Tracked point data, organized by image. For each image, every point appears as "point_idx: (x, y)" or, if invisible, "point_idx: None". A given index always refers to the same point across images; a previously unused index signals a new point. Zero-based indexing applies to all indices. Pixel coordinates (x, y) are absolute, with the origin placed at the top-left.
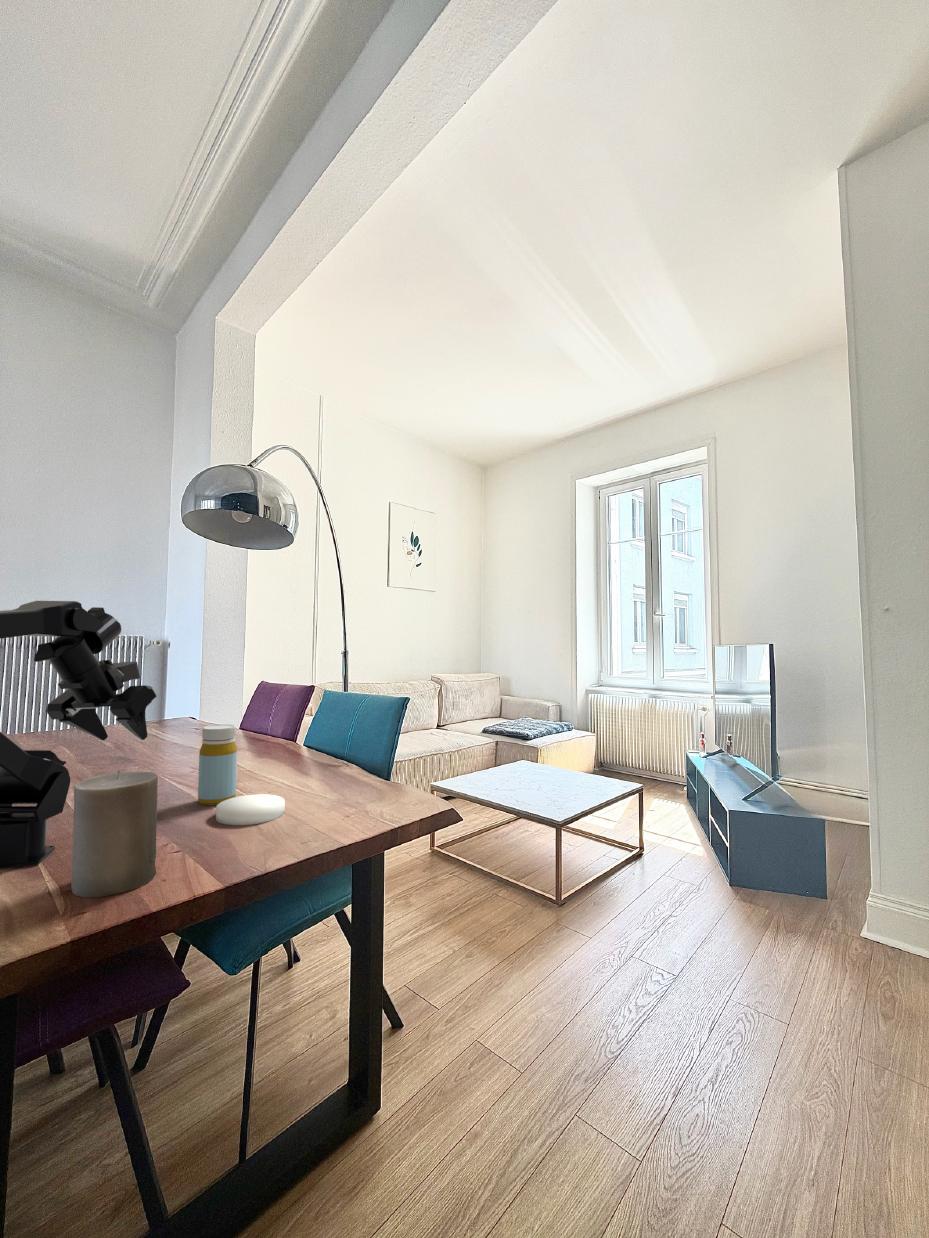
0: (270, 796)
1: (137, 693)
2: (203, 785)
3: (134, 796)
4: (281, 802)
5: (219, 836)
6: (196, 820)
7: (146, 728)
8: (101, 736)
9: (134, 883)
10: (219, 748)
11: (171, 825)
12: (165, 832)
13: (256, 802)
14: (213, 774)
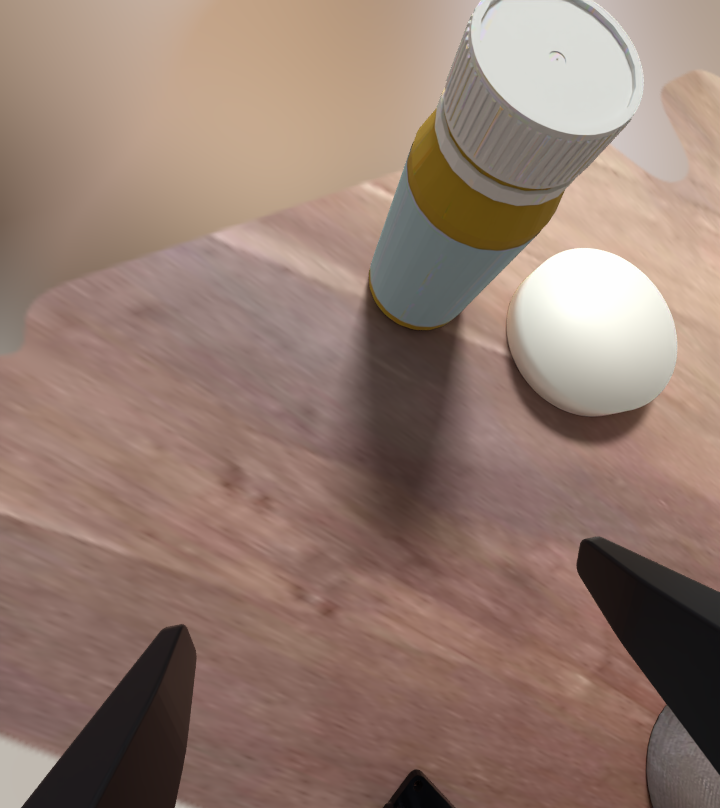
0: (591, 261)
1: None
2: (441, 308)
3: None
4: (651, 290)
5: (650, 480)
6: (513, 427)
7: (683, 577)
8: (184, 701)
9: None
10: (558, 202)
11: (495, 483)
12: (530, 525)
13: (605, 314)
14: (490, 281)
